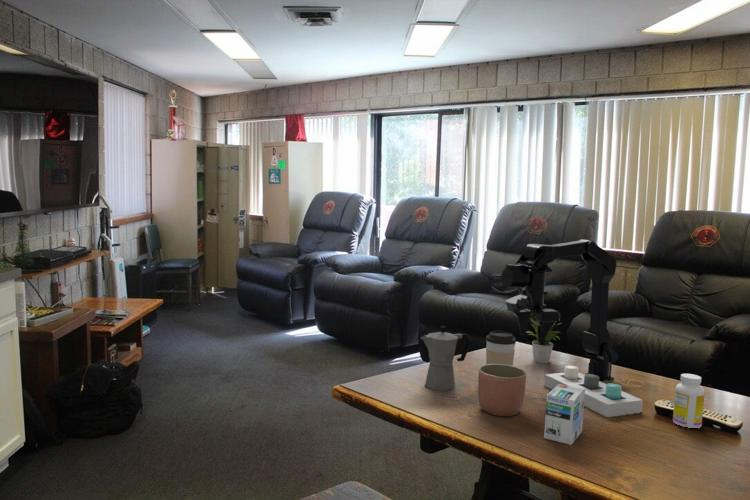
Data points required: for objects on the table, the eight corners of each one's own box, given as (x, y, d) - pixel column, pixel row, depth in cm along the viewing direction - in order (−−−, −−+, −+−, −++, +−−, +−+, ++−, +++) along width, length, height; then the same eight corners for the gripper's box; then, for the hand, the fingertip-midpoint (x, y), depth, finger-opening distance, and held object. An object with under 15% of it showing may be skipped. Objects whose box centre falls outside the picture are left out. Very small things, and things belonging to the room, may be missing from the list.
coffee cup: (516, 385, 181) (519, 336, 179) (485, 384, 181) (488, 335, 179) (510, 376, 190) (513, 329, 188) (481, 375, 190) (484, 328, 188)
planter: (472, 414, 156) (474, 373, 155) (480, 399, 168) (483, 361, 167) (521, 422, 152) (523, 380, 151) (526, 406, 164) (529, 367, 162)
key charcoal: (591, 387, 175) (592, 373, 174) (601, 391, 171) (602, 377, 171) (580, 388, 173) (581, 374, 173) (590, 392, 170) (591, 379, 169)
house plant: (518, 364, 203) (521, 317, 202) (515, 353, 217) (518, 309, 215) (562, 368, 201) (565, 320, 199) (556, 357, 215) (559, 312, 213)
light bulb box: (571, 446, 139) (575, 400, 138) (542, 438, 143) (545, 394, 142) (582, 431, 148) (586, 388, 147) (555, 424, 152) (558, 383, 151)
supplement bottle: (698, 422, 157) (703, 374, 156) (703, 431, 151) (708, 381, 150) (670, 418, 160) (675, 370, 158) (674, 427, 153) (678, 378, 152)
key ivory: (571, 378, 183) (572, 365, 182) (580, 382, 179) (581, 369, 178) (560, 379, 181) (561, 366, 181) (569, 383, 177) (570, 370, 177)
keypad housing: (576, 382, 187) (576, 371, 186) (641, 412, 163) (642, 400, 162) (544, 385, 182) (545, 374, 182) (606, 417, 158) (607, 404, 158)
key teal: (613, 396, 167) (614, 382, 167) (623, 401, 163) (625, 387, 163) (601, 398, 165) (602, 384, 165) (612, 403, 162) (613, 388, 161)
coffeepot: (422, 391, 172) (426, 330, 170) (414, 381, 181) (417, 322, 179) (474, 390, 175) (477, 329, 173) (463, 380, 184) (466, 322, 183)
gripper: (494, 282, 184) (491, 332, 186) (529, 293, 167) (525, 348, 169) (525, 281, 188) (522, 330, 190) (563, 292, 171) (559, 346, 172)
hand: (531, 338), depth 180 cm, fingers open, 9 cm apart
